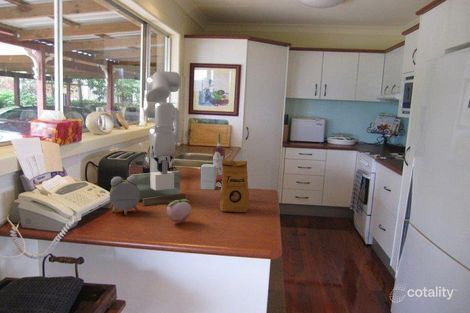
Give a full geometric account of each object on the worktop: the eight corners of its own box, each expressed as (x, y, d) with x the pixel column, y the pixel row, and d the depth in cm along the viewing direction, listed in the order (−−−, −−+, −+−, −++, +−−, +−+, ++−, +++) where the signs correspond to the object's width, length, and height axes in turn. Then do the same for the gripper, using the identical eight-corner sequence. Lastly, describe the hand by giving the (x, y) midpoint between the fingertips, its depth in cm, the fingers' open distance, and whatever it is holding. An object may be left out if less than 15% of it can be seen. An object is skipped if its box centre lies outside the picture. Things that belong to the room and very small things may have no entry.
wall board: (131, 200, 159) (130, 174, 157) (178, 194, 173) (178, 170, 171) (139, 206, 150) (139, 179, 149) (188, 199, 164) (189, 174, 162)
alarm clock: (139, 209, 147) (138, 174, 144) (140, 214, 140) (140, 177, 138) (109, 211, 142) (109, 175, 140) (110, 216, 136) (109, 179, 134)
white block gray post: (150, 187, 159) (150, 159, 157) (168, 185, 164) (168, 158, 162) (155, 190, 154) (155, 161, 152) (174, 188, 159) (174, 160, 157)
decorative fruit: (180, 218, 137) (180, 193, 136) (194, 223, 132) (195, 197, 131) (161, 223, 130) (161, 197, 129) (175, 229, 125) (176, 202, 123)
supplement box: (216, 186, 191) (216, 164, 190) (213, 190, 184) (214, 166, 182) (202, 186, 192) (203, 163, 190) (200, 189, 185) (200, 165, 183)
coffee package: (248, 214, 145) (251, 162, 142) (219, 213, 145) (220, 161, 141) (248, 207, 155) (250, 159, 151) (220, 206, 155) (221, 158, 151)
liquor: (225, 180, 208) (227, 134, 204) (222, 183, 201) (223, 134, 197) (214, 179, 210) (215, 133, 206) (210, 181, 203) (211, 134, 199)
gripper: (176, 129, 162) (175, 168, 165) (142, 130, 153) (143, 171, 156) (183, 131, 156) (182, 171, 159) (149, 131, 147) (149, 174, 150)
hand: (163, 170), depth 157 cm, fingers closed on white block gray post, 2 cm apart
